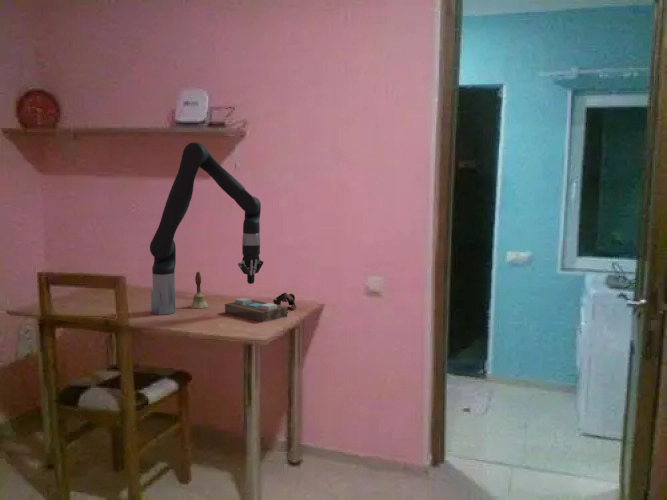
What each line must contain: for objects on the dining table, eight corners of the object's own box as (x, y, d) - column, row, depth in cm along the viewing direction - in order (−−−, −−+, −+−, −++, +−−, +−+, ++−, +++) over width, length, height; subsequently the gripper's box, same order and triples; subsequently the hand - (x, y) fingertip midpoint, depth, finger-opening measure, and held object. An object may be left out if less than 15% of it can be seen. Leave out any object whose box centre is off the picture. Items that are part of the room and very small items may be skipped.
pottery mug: (292, 313, 270) (282, 297, 268) (276, 319, 274) (267, 304, 273) (303, 301, 280) (294, 285, 279) (288, 307, 285) (279, 292, 283)
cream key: (268, 311, 254) (268, 306, 254) (260, 310, 258) (260, 304, 257) (277, 309, 258) (277, 304, 258) (268, 308, 261) (268, 303, 261)
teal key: (255, 311, 260) (255, 306, 259) (247, 309, 263) (247, 304, 263) (264, 309, 264) (264, 304, 263) (256, 308, 267) (256, 303, 266)
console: (263, 322, 251) (263, 312, 250) (225, 312, 266) (224, 303, 265) (287, 316, 261) (287, 307, 261) (249, 307, 276) (249, 299, 276)
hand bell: (193, 309, 272) (192, 274, 270) (187, 306, 279) (186, 271, 277) (211, 307, 276) (210, 272, 274) (204, 304, 283) (204, 270, 281)
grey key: (242, 306, 265) (242, 301, 264) (235, 304, 268) (235, 299, 268) (251, 304, 268) (251, 299, 268) (243, 302, 272) (243, 297, 271)
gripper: (257, 241, 270) (256, 280, 272) (233, 243, 260) (233, 284, 262) (268, 243, 265) (268, 282, 267) (245, 245, 255) (244, 286, 257)
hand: (250, 283), depth 264 cm, fingers closed
